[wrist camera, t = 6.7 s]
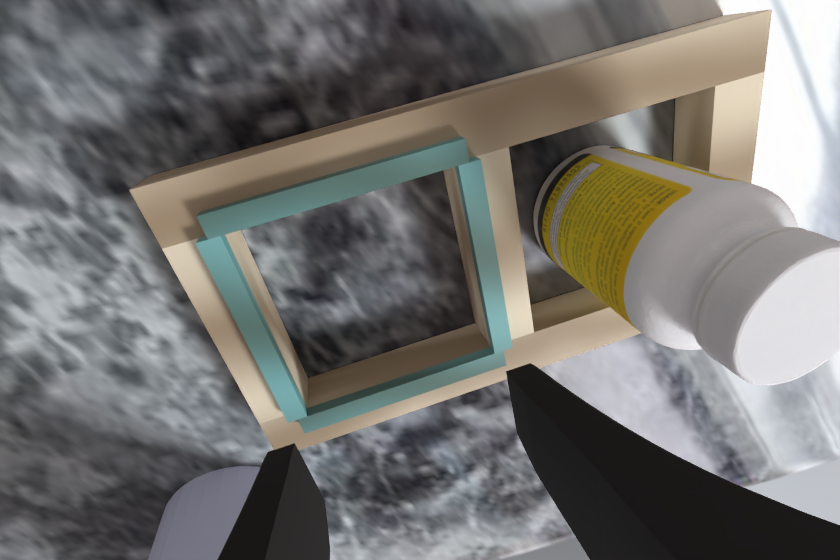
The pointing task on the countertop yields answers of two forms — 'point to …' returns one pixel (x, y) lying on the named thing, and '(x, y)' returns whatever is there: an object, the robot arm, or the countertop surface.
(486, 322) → the panel
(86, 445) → the countertop surface
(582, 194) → the supplement bottle
